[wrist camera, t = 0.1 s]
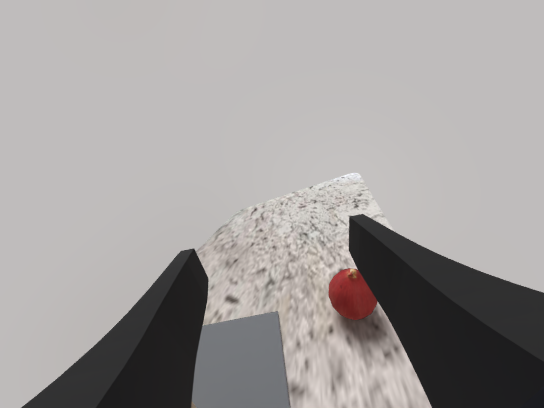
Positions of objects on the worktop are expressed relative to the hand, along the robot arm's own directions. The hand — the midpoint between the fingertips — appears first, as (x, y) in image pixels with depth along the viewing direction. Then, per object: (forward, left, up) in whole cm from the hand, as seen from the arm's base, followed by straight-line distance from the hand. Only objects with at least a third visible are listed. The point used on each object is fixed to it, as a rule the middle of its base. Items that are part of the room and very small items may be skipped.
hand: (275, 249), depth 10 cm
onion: (+11, -8, -22) cm, 26 cm away
